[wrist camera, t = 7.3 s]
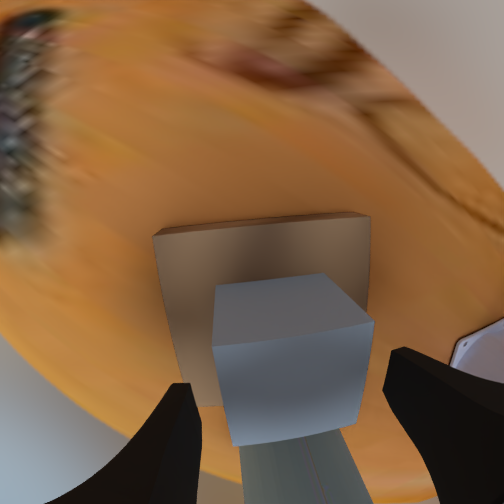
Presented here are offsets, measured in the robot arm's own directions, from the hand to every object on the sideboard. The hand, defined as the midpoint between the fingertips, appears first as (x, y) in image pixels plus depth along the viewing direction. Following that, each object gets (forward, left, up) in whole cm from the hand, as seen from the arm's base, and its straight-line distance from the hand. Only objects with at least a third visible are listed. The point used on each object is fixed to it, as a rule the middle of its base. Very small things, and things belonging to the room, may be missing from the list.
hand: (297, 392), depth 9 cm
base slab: (0, 0, -7) cm, 7 cm away
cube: (0, 0, -5) cm, 5 cm away
